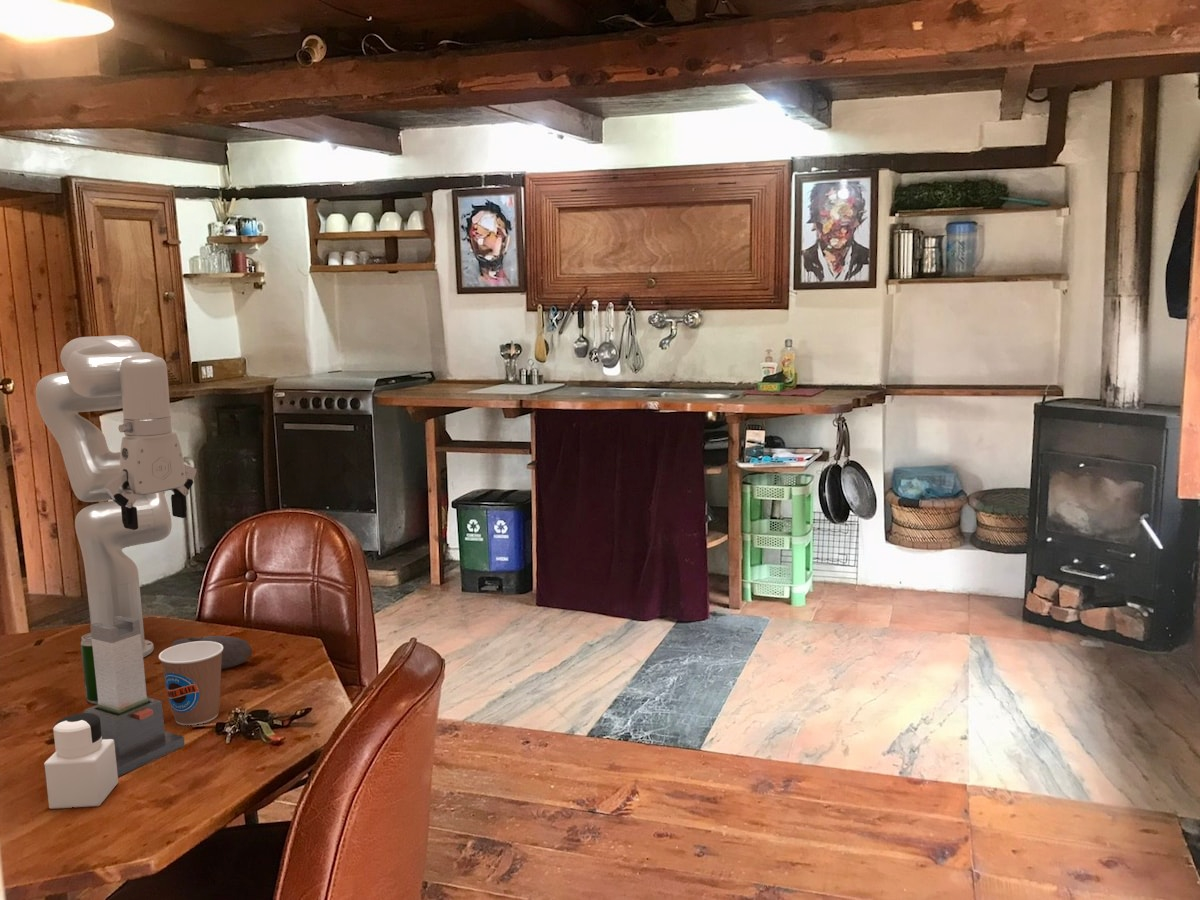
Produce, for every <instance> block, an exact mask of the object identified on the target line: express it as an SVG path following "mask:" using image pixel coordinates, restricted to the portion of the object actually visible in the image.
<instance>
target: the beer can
mask: <svg viewBox="0 0 1200 900" xmlns="http://www.w3.org/2000/svg"><path fill="white" fill-rule="evenodd" d="M80 652H81V661H82V670H83V671H82V672H83V679H84V681H83V682H84V688H85V689H84V690H85V698H86V700H87V702H88V703H89V704H91V703H92V705H97V704H98V695H97V686H96V676H95V666H94V657H93V647H92V638H91V632H89V633H85V634H84V635H82V636H81V641H80Z"/></svg>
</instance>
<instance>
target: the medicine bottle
mask: <svg viewBox="0 0 1200 900" xmlns="http://www.w3.org/2000/svg"><path fill="white" fill-rule="evenodd" d="M52 728H53V729H52V731H53V738H54V747H55V751H54V753H53V754H52V755H50V757H48V758H47V759H46V761H45V762H44V763H43V767H44V775H45V785H46V794H47V795H46V796H47V802H48V803H47V804H48V808H49V809H51V810H56V809H70V808H72V807H74V808H90V807H99V806H101V805H102V803H103V802H104V801H105V800H106V799H107V797H108V796H109V795H110V794H111V792H112V791H113V789H114V788H115V787H116V786H117V785H118V783H119V777H118V774H117V764H116V754H115V744H114V740H113V739H103V740H102V733H101V723H100V718H99V717H98V716H97V715H95V714H91V713H84V712H79V713H74V714H71V715H68V716H67V715H66V716H65V717H62V718H61V719H59V720H58V721H57V722H55V724H54V725H53V727H52ZM72 809H73V808H72Z"/></svg>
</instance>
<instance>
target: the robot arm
mask: <svg viewBox="0 0 1200 900" xmlns="http://www.w3.org/2000/svg"><path fill="white" fill-rule="evenodd" d="M59 356H60V358H59V359H60V362H61V365H62V367H63V369H64V370H65V371H62V372H55V373H51V374H47V375H46V376H43V377H41V378H40V380H38V382H37V384H36V388H35V399H36V405H37V408H38V412H39V414H40V416H41V419H42V421H43V422H44V423H45V426H46V428H47V429H48V430H49V432H50V434H52V436H53V438H54V439H55V441H56V443H57V444H58V446H59V449H60V452H61V456H62V459H63V463H64V467H65V469H66V470H65V471H66V473H67V476H68V477H67V478H68V479H69V482H70V486H71V489H72V491H73V493H74V495H75V496H76V498H77V499H78V500H79V501H82V502H85V503H93V504H90V505H87V506H85V507H84V508H82V509H81V510H80V511H79V512H78V513H77V514H76V516H75V519H74V529H75V534H76V537H77V540H78V542H79V547H80V550H81V555H82V560H83V567H84V574H85V583H86V592H87V599H88V600H87V601H88V610H89V619H90V620H89V621H90V625H91V624H95V623H101V624H105V625H110V626H113V618H114V617H117V616H123V617H128V618H132V619H137V620H139V621H140V631H141V642H142V652H143V658H145V657H147V656H148V655H150V654H152V653H153V651H154V649H155V646H154V643H153V642H152V641H150V640H149V639H145V631H144V629H145V628H144V620H143V619H144V618H143V610H142V609H143V607H142V599H141V597H142V596H141V587H140V577H139V570H138V567H137V565H136V563H135V562H134V560H133V559H132V558H131V557H129V556H128V555H126V554H125V553H124V552H123V549H125V548H129V547H134V546H140V545H145V544H150V543H155V542H160V541H162V540H165V539H166V538H167V537H169V535H170V533H171V531H172V526H173V525H172V524H173V523H172V516H173V517H175V518H180V519H185V518H187V509H188V507H187V496H188V495H189V492H190V491H189V490H190V489H191V488H192V486H193V484H194V480H195V478H196V477H195V476H196V474H197V468H195V467H193V466H189V465H187V464H185V463H184V458H183V452H182V448H181V447H182V446H181V444H180V441H179V437H178V434H177V432H174V431H172V430H173V428H172V417H171V416H172V415H171V407H170V390H169V378H168V367H167V362H166V361H165V359H164V358H163V357H160V356H156V355H155V354H154V353H152V352H148V351H147V352H144V351H143V350H142V347H141V345H140V344H139V342H138V341H137V340H136V339H135V338H133V337H131V336H128V335H122V334H121V335H120V334H118V335H102V336H101V335H100V336H99V335H98V336H95V335H93V336H92V335H90V336H81V337H76V338H74V339H71V340H70V341H69V342H67V343H66V344H65V345H64V346H63V347H62V349H61V352H60V355H59ZM120 409H122V413H123V419H122V421H123V422H122V424H119V425H118V431H119V432H120V433H121V434H122V433H124V436H122V439H121V444H120V451H118V452H112V451H111V450H110V449H109V447H108V446H109V445H108V444H107V439H106V437H105V435H104V433H103V431H102V430H101V429H99V427H97V426H96V424H94V423H92V422H91V421H90V420H88V419H87V418H85V417H83V416H82V415H80V414H79V413H85V412H97V411H98V412H99V411H110V410H120ZM167 491H172V493H173V494H170V495H171V496H170V500H171V512H170V509H169V505H168V503H167V499H166V496H165V493H164V492H167ZM103 501H104V502H103ZM94 502H95V503H94ZM97 502H98V503H97ZM171 514H172V516H171Z"/></svg>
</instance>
